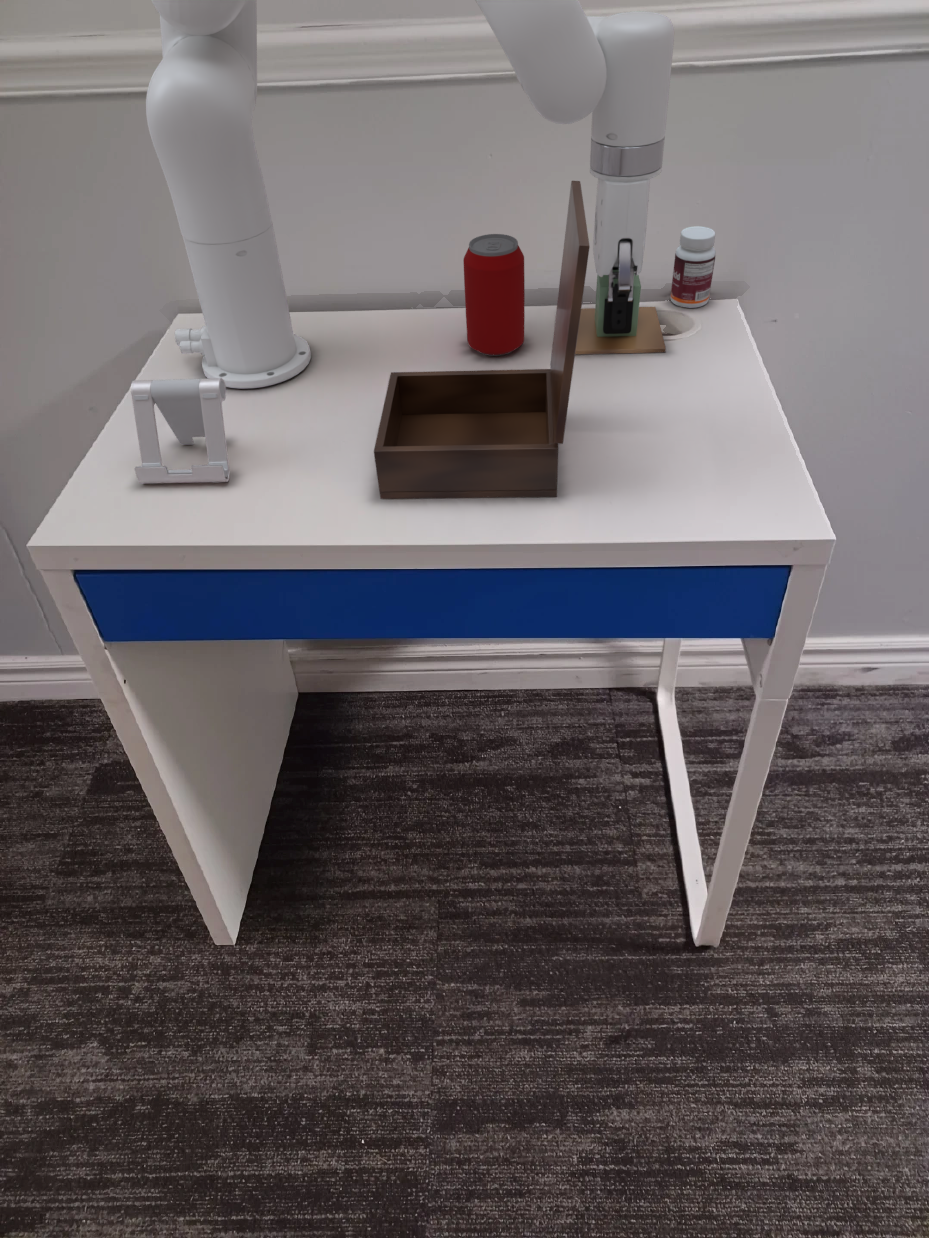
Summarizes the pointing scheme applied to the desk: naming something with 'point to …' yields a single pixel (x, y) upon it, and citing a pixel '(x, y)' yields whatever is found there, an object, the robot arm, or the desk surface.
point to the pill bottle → (693, 267)
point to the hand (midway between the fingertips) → (615, 320)
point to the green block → (600, 302)
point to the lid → (568, 308)
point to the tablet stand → (181, 427)
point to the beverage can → (494, 294)
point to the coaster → (643, 342)
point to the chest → (467, 435)
